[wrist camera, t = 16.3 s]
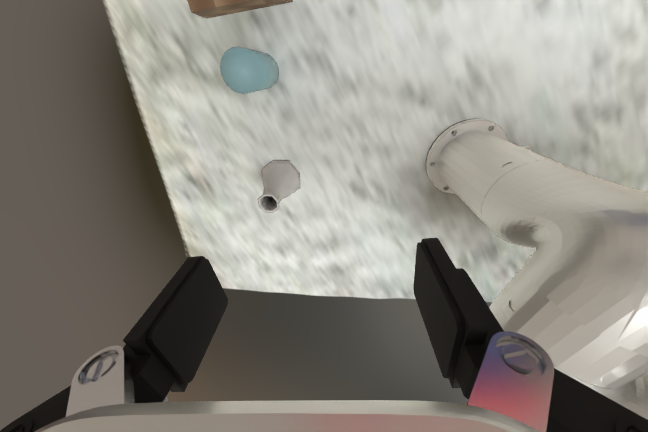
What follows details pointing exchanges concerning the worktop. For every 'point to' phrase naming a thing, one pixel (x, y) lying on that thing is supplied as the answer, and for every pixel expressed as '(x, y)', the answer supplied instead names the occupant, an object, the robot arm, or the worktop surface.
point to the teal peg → (248, 70)
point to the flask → (278, 184)
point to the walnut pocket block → (228, 6)
